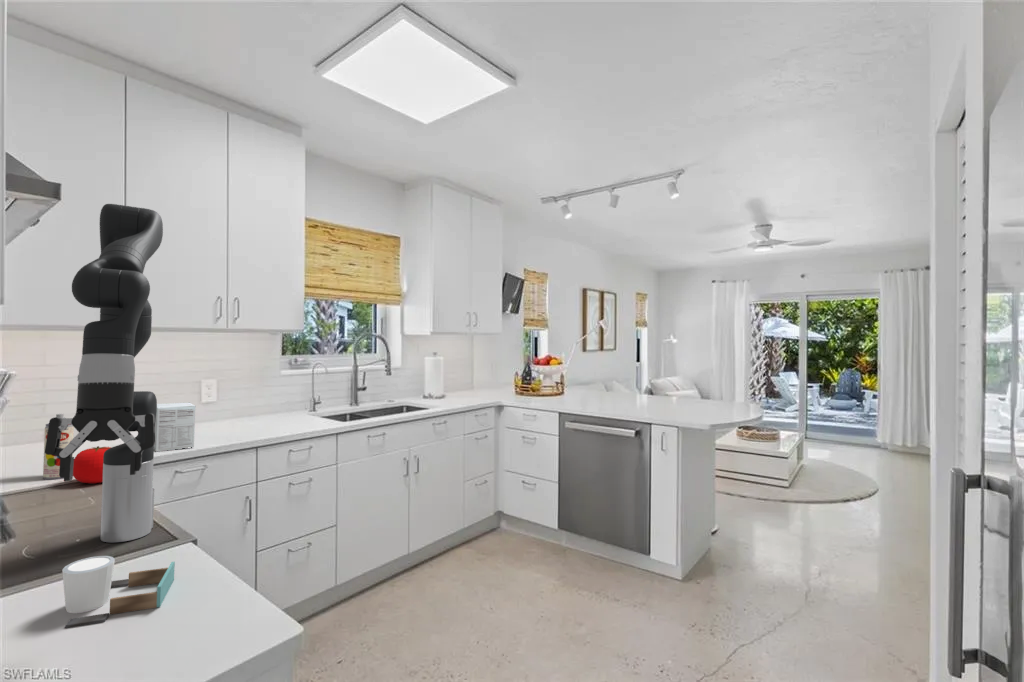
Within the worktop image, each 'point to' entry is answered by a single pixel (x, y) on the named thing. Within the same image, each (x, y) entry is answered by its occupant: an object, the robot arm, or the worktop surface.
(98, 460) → the tomato
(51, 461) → the aerosol can
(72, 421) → the robot arm
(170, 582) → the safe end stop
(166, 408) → the supplement box
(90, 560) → the white cup
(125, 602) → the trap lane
